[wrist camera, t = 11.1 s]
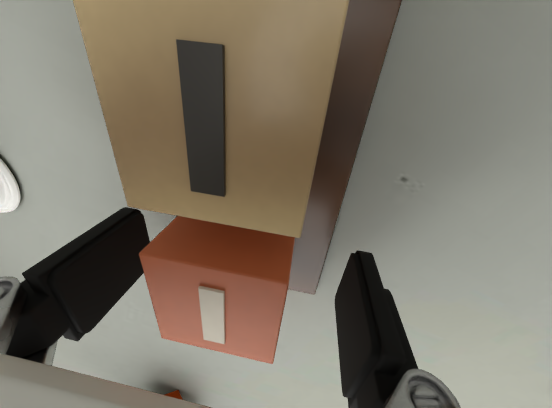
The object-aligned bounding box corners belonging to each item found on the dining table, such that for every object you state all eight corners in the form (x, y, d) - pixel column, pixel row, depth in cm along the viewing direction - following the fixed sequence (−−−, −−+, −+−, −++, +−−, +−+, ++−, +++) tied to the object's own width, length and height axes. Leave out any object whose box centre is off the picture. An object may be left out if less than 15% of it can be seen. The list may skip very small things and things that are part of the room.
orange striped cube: (204, 188, 10) (135, 255, 6) (299, 205, 10) (288, 287, 6) (209, 259, 13) (159, 341, 9) (286, 274, 12) (272, 367, 8)
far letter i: (196, 25, 7) (54, -43, 3) (332, 39, 7) (354, -19, 3) (203, 156, 10) (124, 209, 6) (306, 172, 9) (300, 242, 5)
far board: (78, -585, 4) (41, -688, 3) (588, -656, 3) (642, -804, 3) (187, 262, 14) (182, 269, 13) (315, 288, 13) (314, 296, 13)
